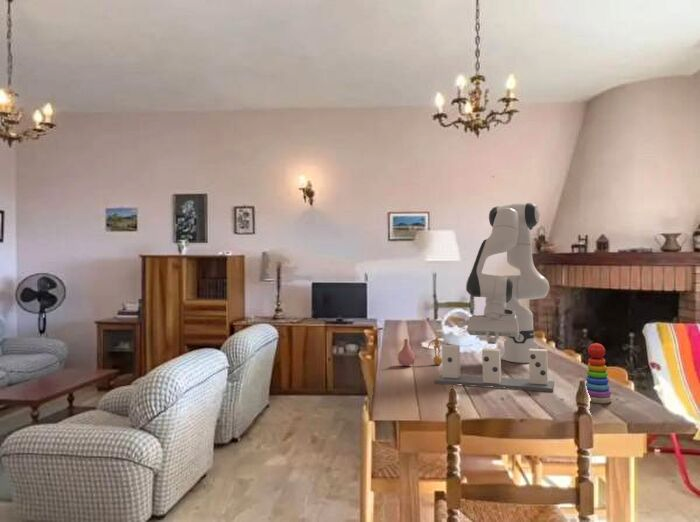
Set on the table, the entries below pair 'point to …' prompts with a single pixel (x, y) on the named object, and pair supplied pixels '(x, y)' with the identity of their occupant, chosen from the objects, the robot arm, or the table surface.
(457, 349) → the key one
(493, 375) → the key two
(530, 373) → the key three
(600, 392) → the stacking toy
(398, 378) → the table surface
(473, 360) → the table surface
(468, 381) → the grey flat board
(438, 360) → the figurine
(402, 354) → the perfume bottle
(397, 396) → the table surface
